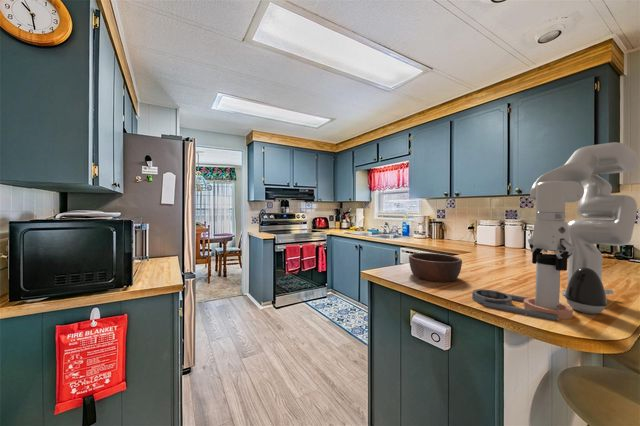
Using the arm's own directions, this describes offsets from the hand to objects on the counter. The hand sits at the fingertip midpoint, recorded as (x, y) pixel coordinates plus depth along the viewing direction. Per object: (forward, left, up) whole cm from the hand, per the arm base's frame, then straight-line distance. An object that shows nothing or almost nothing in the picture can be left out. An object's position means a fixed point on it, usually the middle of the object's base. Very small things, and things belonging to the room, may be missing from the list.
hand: (548, 266), depth 89 cm
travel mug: (0, 0, -16) cm, 16 cm away
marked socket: (0, 0, -16) cm, 16 cm away
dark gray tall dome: (-14, -1, -16) cm, 21 cm away
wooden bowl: (+21, -43, -16) cm, 51 cm away
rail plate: (+9, -6, -15) cm, 19 cm away
